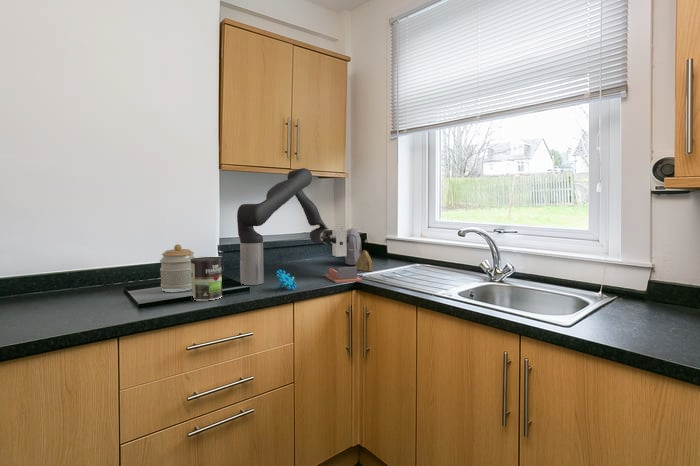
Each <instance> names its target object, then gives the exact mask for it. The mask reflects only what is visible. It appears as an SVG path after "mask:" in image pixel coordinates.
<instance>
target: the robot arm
mask: <svg viewBox="0 0 700 466" xmlns="http://www.w3.org/2000/svg"><path fill="white" fill-rule="evenodd" d="M312 181H313V174H312V172H311V171H310V169H308V168H306V167H305V168H304V167H302V168H298V169H292V170H290V171H289V172H288V173H287V179H285V180H283V181H281V182H278V183H276V184H275V185H273V186H272V187H271V188H270V189H268V191H267V193H266V197H265V199H264V200H263V201H262V202H260V203H259V202H258V203H243V204H240V205H239V206H238V209H237V214H236V223H237V233H238V234H237V235H238V237H239V247H240V259H239V267H240V268H239V275H240V276H239V277H240V279H239V281H240V284H241V285H242V284H244V285H243V286H258V285H262V284H264V282H265V279H264V276H265V275H264V274H265V273H264V272H265V271H264V236H263V235H262V234H260V233H258V232H257V231H256V230H255V229H254V227H260V226H262V225H264V224H265V223H266V222H268V220H269V219H270V218H271V217H272V215H274V213H276V212H277V211H278V210H279V209H280V208H281V207H282V206H283V205H285V204H286V203H287V202H289V201H290V200H291V199H292V198H293V197H294V196H295V197H296V199H297V201H298V203H299V205H300V206H301V209H302V210H303V213H304V214H305V218H306V221H307V223H308V225H309V226H311V227H314V226H315V227H316V226H318V227H317V228H315V229H312V230H311V231H310V233H309V239H310V240H311V241H312V242H313V243H315V244H320V243H321V244H322V243H323V244H325V245H328V246H330V247H332V243H334V244H336V239H335V238H333V237H332V229H329V228H328V226H327V225H326V224H325V222H324V221H323V220H322V217H321V215H320V212H319V210H318V207H317V205H316V204H315V203H314V202H313V201H312V200H311V199H310V198H309V197H308V196H307V195H306V194H305V192H304V190H303V189H305V188H306V187H309V186H310V185H311V184H312ZM348 242H349V236H347V239H346V243H348Z"/></svg>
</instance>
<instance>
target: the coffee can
mask: <svg viewBox="0 0 700 466" xmlns="http://www.w3.org/2000/svg"><path fill="white" fill-rule="evenodd" d="M222 259H223V258H222V257H220V256H201V257H199V256H198V257H195V258H193V259H191V277H192V290H191V297H192V296H193V298H194V300H196V301H195V302H209V301H208V300H213V301H216V300H215V299H217V300H220V299H222V298H223V282H222V281H223V279H222V278H223V276H222ZM221 297H222V298H221ZM219 298H220V299H219ZM194 300H193V301H194Z"/></svg>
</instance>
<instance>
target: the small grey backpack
mask: <svg viewBox="0 0 700 466" xmlns="http://www.w3.org/2000/svg"><path fill="white" fill-rule="evenodd" d="M346 230H347V236H349V242H348V243H347V256H344V261H345V264H346V265H349V266H355V264H356V262H357V260H358V258H359V256H360V255H361V253H362V252H363V250H362V239H361V236H360V233H359V232H358V230H357V229H356V228H353V227H352V228H349V229H346Z"/></svg>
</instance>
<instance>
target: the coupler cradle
mask: <svg viewBox="0 0 700 466" xmlns="http://www.w3.org/2000/svg"><path fill="white" fill-rule="evenodd" d="M324 277H326V278H327V279H328V280H330V281H332V282H333V283H335V284H341V283H351V282H352V283H355V282H363V278H361V277H359V276H358V270H357V267H355V266H351V267H350V266H349V267H347V266H344V267H337V270H336V269H334V268H333V267H329V268H328V273H325V274H324Z"/></svg>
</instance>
